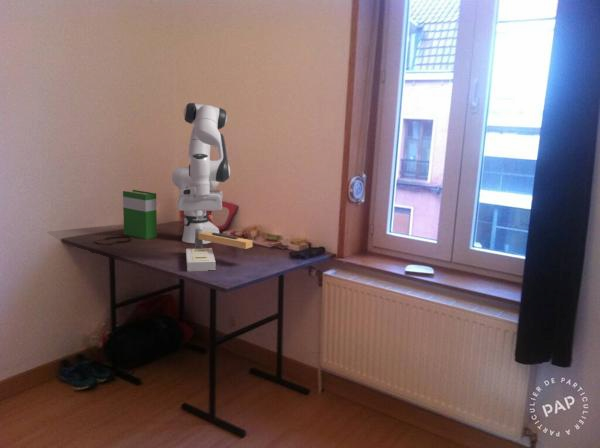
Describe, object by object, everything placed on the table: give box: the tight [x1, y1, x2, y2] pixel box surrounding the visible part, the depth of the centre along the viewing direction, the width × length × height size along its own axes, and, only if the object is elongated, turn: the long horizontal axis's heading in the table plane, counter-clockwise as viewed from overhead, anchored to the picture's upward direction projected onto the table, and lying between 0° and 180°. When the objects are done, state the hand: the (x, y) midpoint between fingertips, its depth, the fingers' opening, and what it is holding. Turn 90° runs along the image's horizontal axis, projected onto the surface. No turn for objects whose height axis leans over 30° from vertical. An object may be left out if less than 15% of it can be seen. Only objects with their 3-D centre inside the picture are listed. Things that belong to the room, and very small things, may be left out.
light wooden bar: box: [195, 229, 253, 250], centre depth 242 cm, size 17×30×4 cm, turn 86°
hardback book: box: [122, 189, 158, 240], centre depth 284 cm, size 18×7×24 cm, turn 58°
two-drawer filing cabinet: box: [185, 238, 217, 272], centre depth 239 cm, size 29×12×8 cm, turn 14°
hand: (199, 220), depth 240 cm, fingers closed
